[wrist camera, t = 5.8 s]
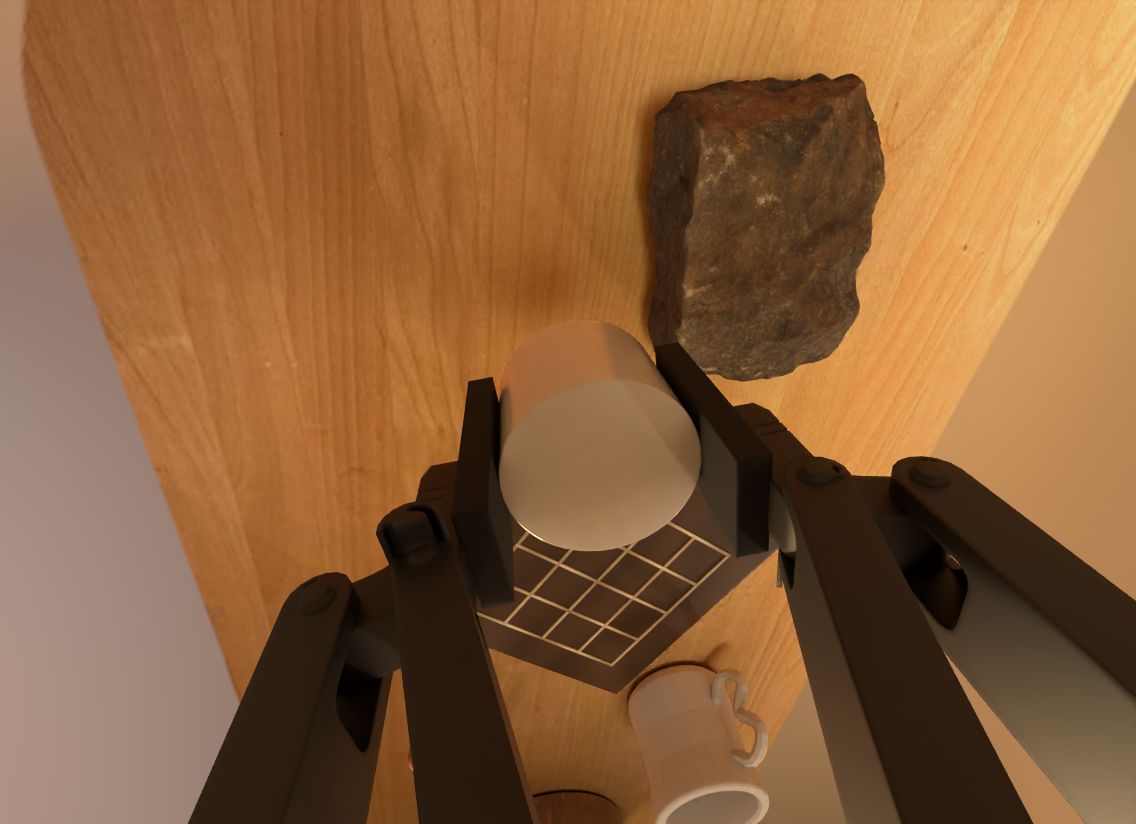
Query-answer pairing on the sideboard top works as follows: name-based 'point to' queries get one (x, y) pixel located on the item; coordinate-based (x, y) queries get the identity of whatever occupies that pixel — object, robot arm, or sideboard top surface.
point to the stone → (761, 220)
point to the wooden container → (575, 809)
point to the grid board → (614, 597)
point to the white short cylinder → (592, 439)
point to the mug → (698, 747)
